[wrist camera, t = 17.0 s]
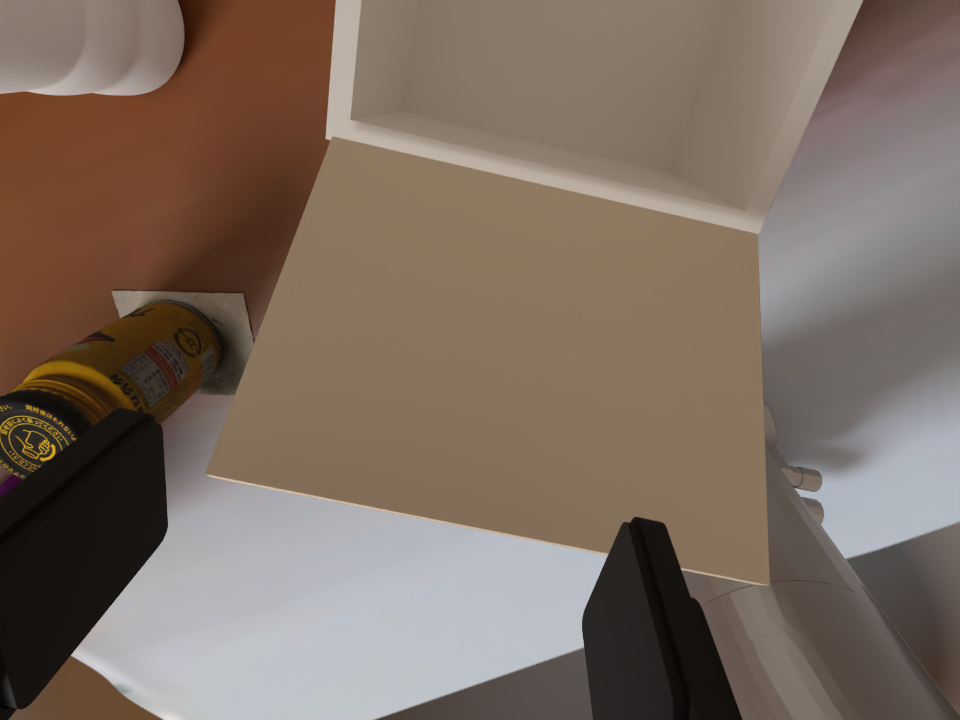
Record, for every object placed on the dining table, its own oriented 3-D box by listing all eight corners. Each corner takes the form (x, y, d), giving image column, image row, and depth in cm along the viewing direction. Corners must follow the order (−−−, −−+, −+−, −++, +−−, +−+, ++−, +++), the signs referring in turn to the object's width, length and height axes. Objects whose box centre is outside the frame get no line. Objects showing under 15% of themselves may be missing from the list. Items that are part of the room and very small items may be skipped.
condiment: (113, 289, 34) (-70, 380, 23) (244, 292, 34) (120, 385, 23) (144, 390, 37) (-3, 510, 27) (264, 393, 37) (164, 516, 26)
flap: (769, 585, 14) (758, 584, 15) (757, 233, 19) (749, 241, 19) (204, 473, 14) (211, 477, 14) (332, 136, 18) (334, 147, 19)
